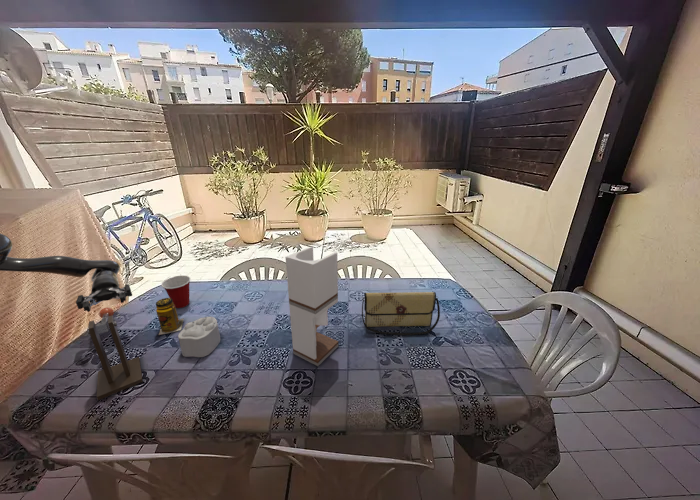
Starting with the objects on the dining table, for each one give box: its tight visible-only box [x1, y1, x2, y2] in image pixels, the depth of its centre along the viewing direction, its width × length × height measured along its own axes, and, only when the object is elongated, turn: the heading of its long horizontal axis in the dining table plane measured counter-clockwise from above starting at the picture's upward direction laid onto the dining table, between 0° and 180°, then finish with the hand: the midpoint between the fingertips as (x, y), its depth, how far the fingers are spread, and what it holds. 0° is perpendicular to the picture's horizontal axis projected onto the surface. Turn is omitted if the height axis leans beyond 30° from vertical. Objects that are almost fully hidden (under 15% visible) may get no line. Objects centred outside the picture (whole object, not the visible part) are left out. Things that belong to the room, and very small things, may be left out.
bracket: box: [86, 314, 144, 401], centre depth 78 cm, size 12×10×20 cm
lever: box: [95, 307, 115, 335], centre depth 81 cm, size 19×4×4 cm, turn 40°
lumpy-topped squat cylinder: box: [177, 316, 221, 358], centre depth 94 cm, size 10×13×9 cm
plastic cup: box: [160, 275, 191, 309], centre depth 118 cm, size 11×11×12 cm
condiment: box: [155, 297, 185, 336], centre depth 103 cm, size 7×8×12 cm
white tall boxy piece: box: [284, 246, 339, 367], centre depth 87 cm, size 11×11×35 cm
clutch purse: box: [360, 291, 441, 336], centre depth 102 cm, size 30×7×15 cm, turn 92°
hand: (105, 304), depth 89 cm, fingers open, 8 cm apart
